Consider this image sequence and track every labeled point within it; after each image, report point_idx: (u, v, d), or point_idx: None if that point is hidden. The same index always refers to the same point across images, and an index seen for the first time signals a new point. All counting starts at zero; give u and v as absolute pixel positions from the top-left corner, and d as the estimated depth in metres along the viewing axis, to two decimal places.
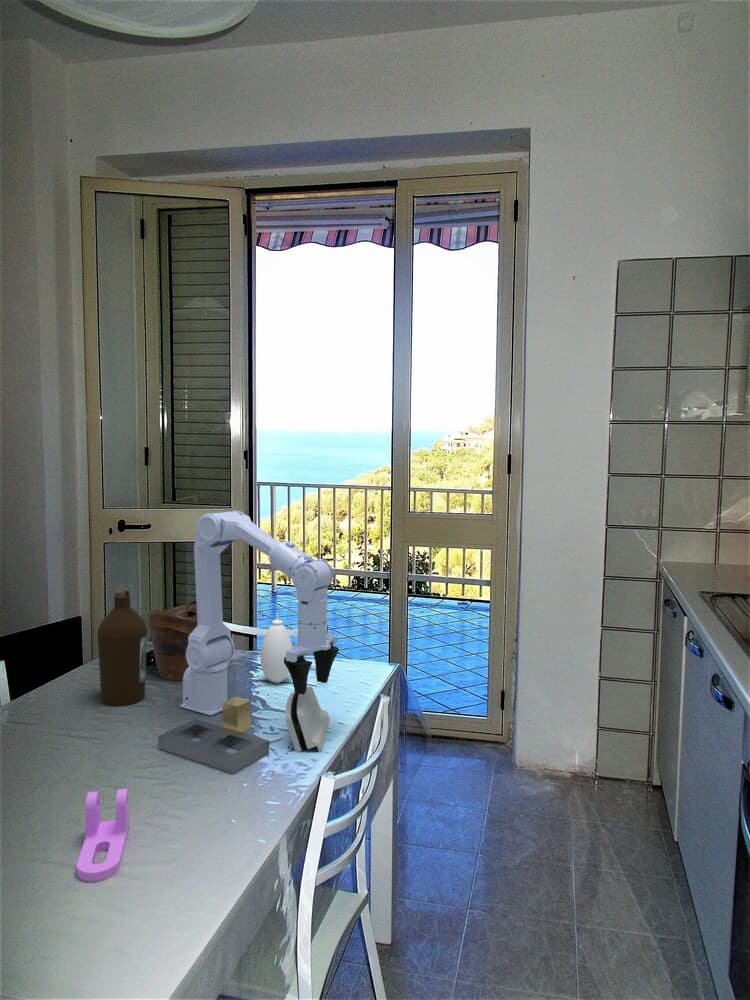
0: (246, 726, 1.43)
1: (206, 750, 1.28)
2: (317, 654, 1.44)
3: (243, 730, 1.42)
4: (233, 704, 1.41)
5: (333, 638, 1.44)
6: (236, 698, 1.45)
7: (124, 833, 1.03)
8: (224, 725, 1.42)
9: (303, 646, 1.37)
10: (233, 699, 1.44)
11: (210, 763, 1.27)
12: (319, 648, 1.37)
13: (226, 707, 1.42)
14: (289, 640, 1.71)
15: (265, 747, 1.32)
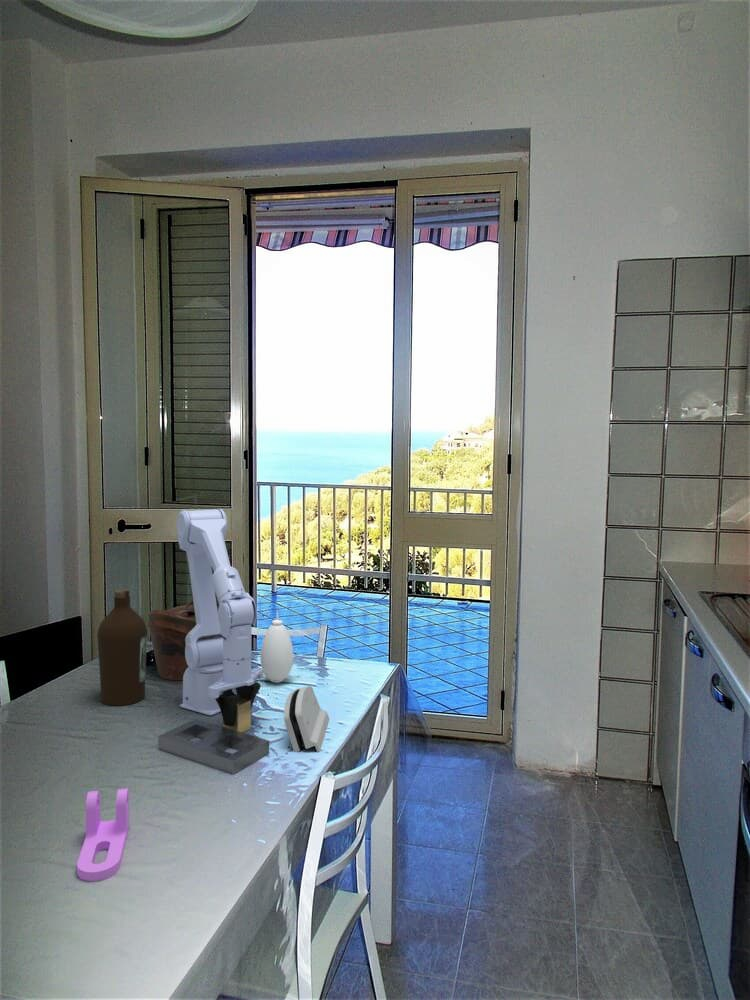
0: (246, 726, 1.43)
1: (206, 750, 1.28)
2: (239, 690, 1.45)
3: (243, 730, 1.42)
4: None
5: (260, 672, 1.47)
6: None
7: (124, 833, 1.03)
8: (224, 725, 1.42)
9: (227, 682, 1.40)
10: None
11: (210, 763, 1.27)
12: (242, 684, 1.40)
13: None
14: (289, 640, 1.71)
15: (265, 747, 1.32)
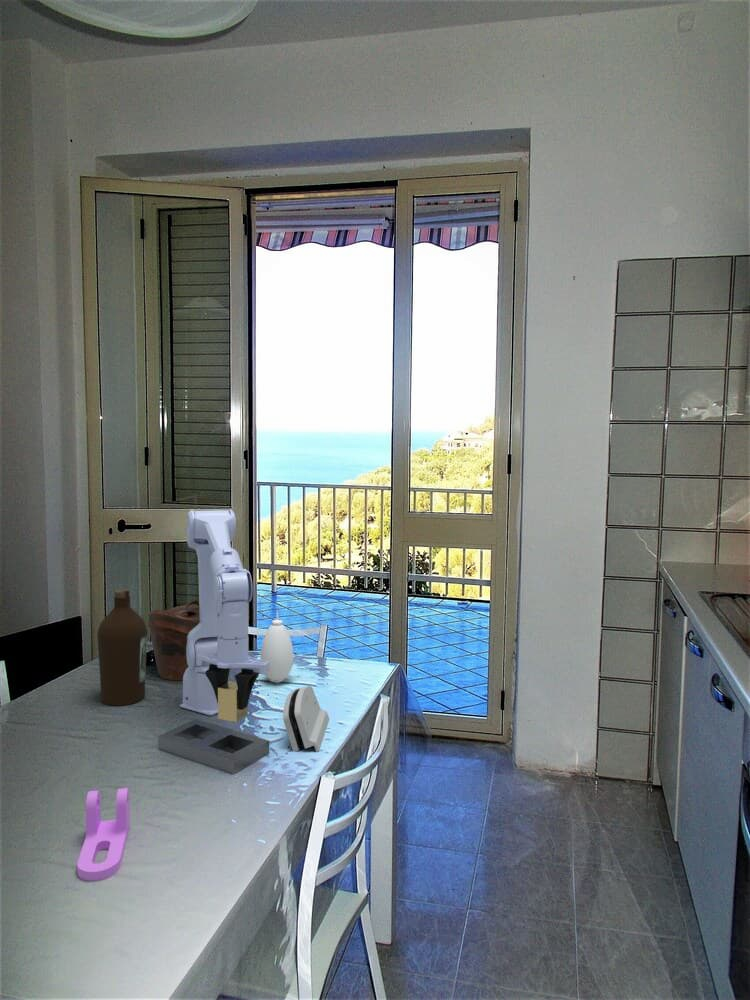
0: (230, 716, 1.30)
1: (206, 750, 1.28)
2: None
3: (226, 718, 1.31)
4: (223, 685, 1.32)
5: (258, 666, 1.29)
6: None
7: (124, 832, 1.03)
8: None
9: None
10: None
11: (210, 763, 1.27)
12: None
13: None
14: (289, 640, 1.71)
15: (265, 747, 1.32)
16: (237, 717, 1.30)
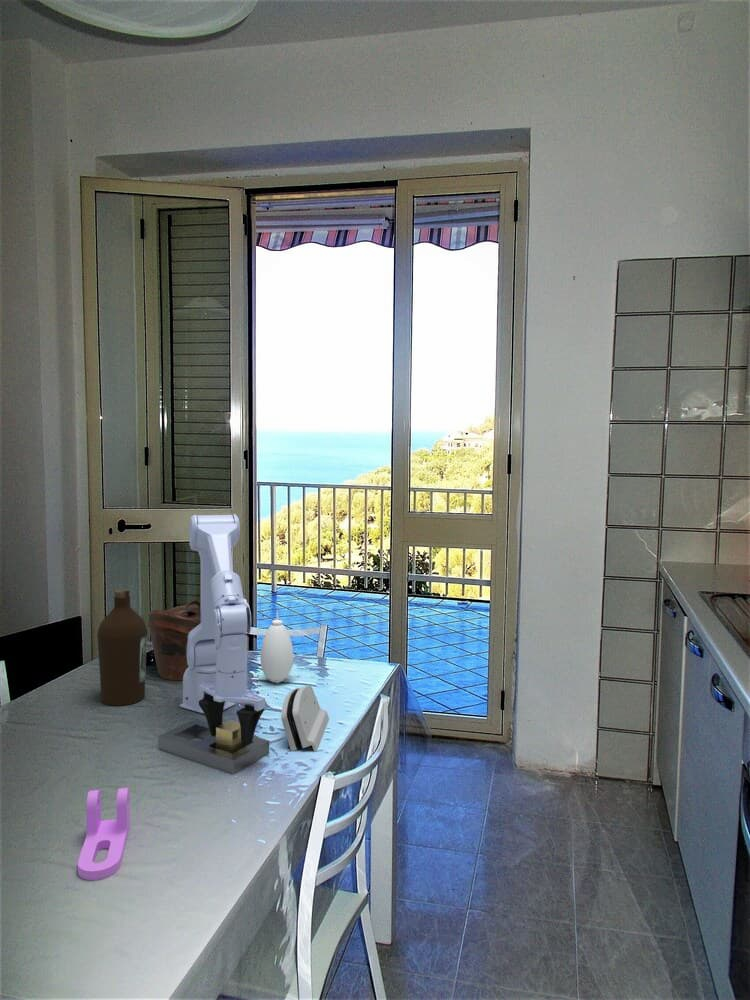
0: None
1: (206, 750, 1.28)
2: None
3: None
4: (223, 725, 1.31)
5: (252, 701, 1.26)
6: None
7: (125, 832, 1.03)
8: None
9: None
10: (237, 724, 1.32)
11: (210, 763, 1.27)
12: (215, 696, 1.28)
13: None
14: (289, 640, 1.71)
15: (265, 747, 1.32)
16: None
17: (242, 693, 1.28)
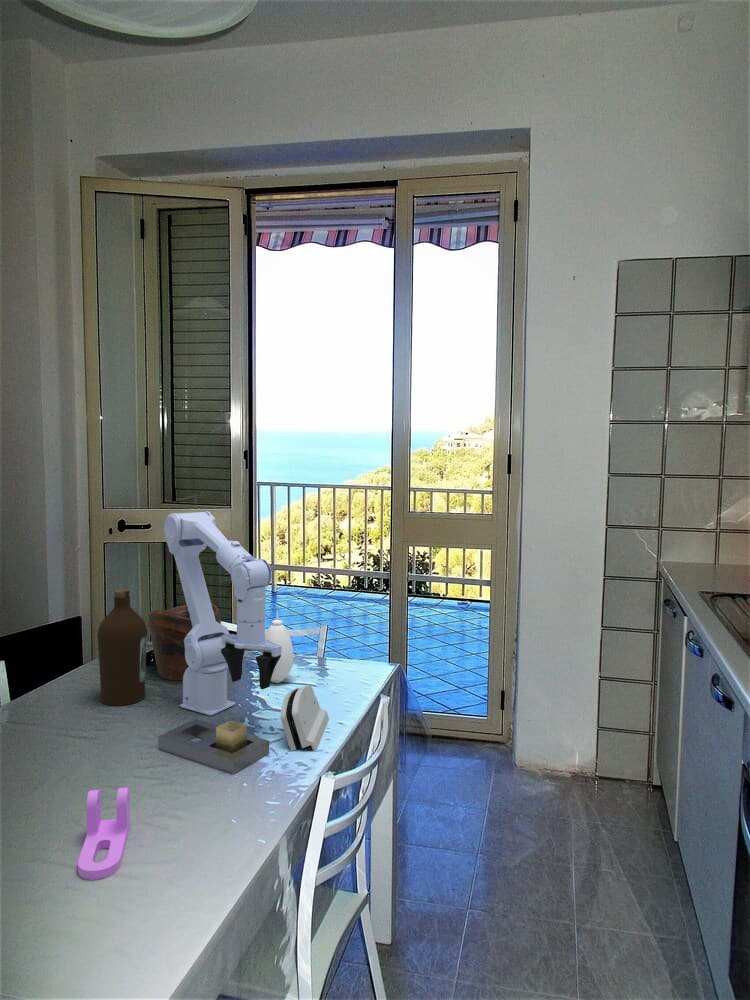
0: None
1: (206, 750, 1.28)
2: None
3: None
4: (223, 725, 1.31)
5: (270, 648, 1.39)
6: (240, 725, 1.31)
7: (125, 831, 1.03)
8: None
9: None
10: (237, 724, 1.32)
11: (210, 763, 1.27)
12: None
13: None
14: (289, 640, 1.71)
15: (265, 747, 1.32)
16: None
17: (260, 641, 1.41)
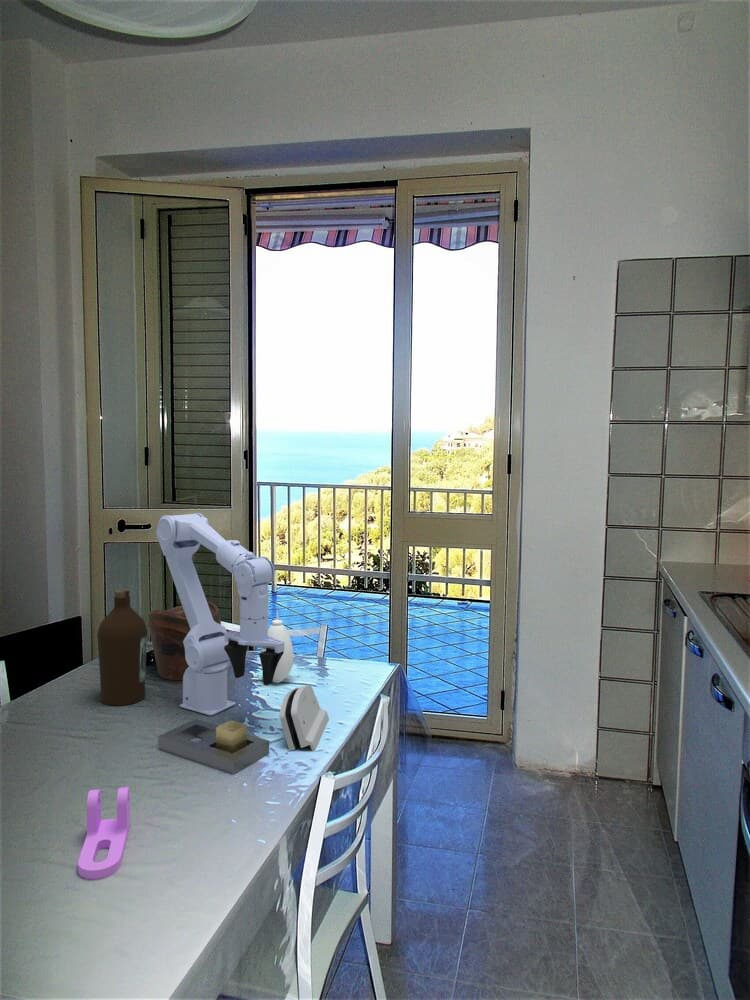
0: None
1: (206, 750, 1.28)
2: None
3: None
4: (223, 725, 1.31)
5: (273, 645, 1.41)
6: (240, 725, 1.31)
7: (125, 831, 1.03)
8: None
9: None
10: (237, 724, 1.32)
11: (210, 763, 1.27)
12: None
13: None
14: (289, 640, 1.71)
15: (265, 747, 1.32)
16: None
17: (263, 638, 1.43)
